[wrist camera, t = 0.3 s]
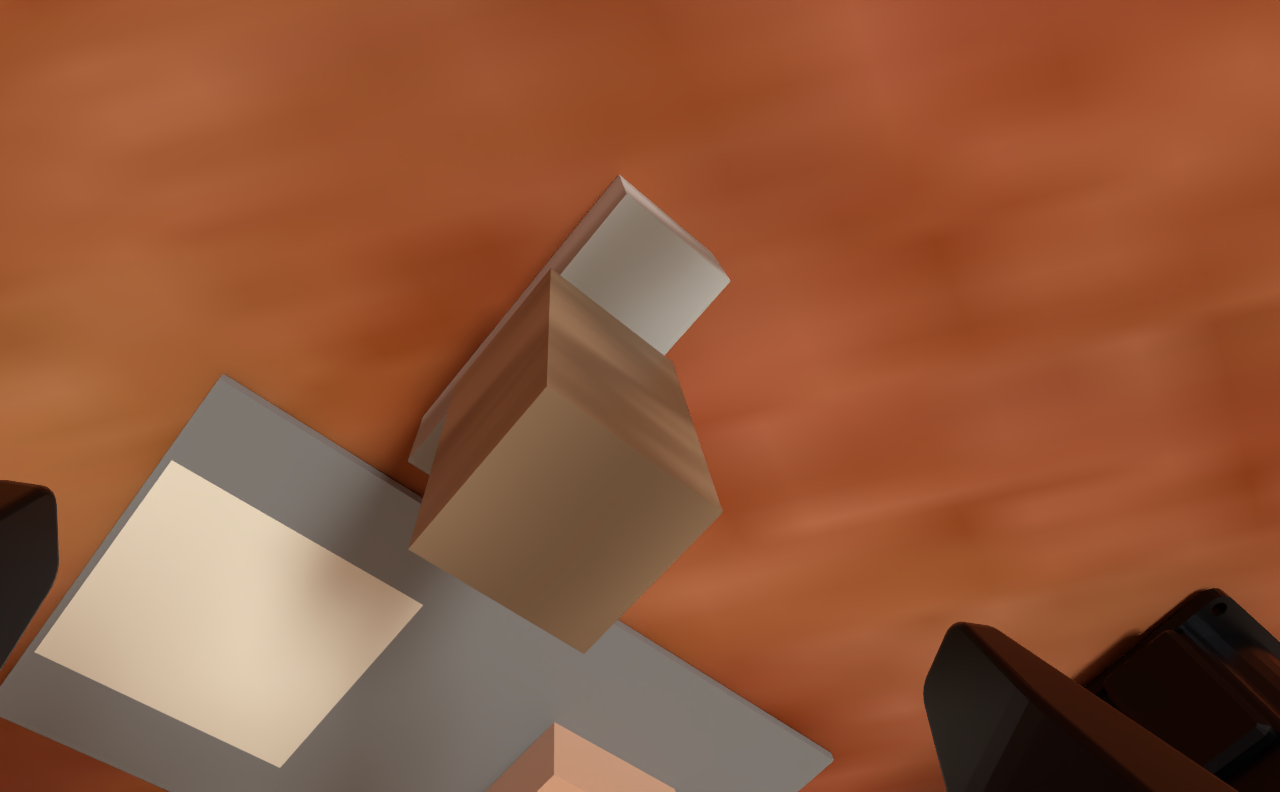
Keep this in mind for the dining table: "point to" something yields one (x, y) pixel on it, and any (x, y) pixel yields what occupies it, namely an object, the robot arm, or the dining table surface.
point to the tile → (572, 768)
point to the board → (342, 644)
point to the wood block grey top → (576, 430)
